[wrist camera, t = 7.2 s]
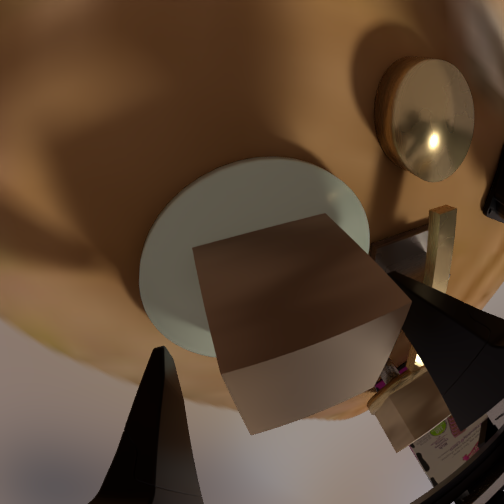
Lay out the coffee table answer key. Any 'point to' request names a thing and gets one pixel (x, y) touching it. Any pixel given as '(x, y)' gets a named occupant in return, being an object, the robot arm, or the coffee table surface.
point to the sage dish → (231, 232)
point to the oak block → (412, 412)
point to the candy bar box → (443, 445)
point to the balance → (421, 176)
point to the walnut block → (297, 318)
